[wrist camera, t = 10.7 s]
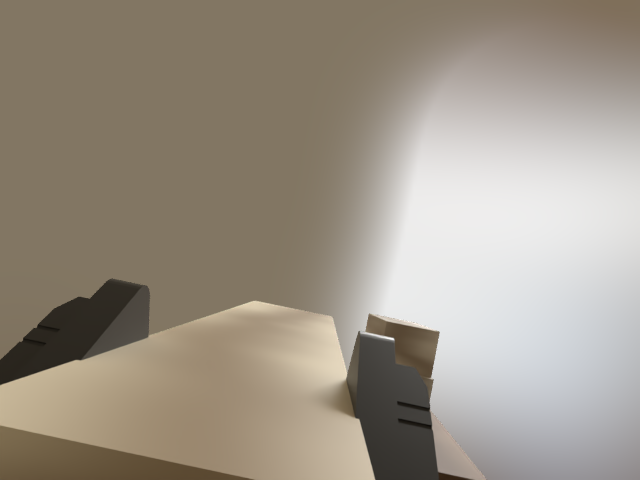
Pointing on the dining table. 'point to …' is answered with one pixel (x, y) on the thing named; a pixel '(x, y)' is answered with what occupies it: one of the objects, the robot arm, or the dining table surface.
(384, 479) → the robot arm
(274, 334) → the birch slat
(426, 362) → the offcut stack
